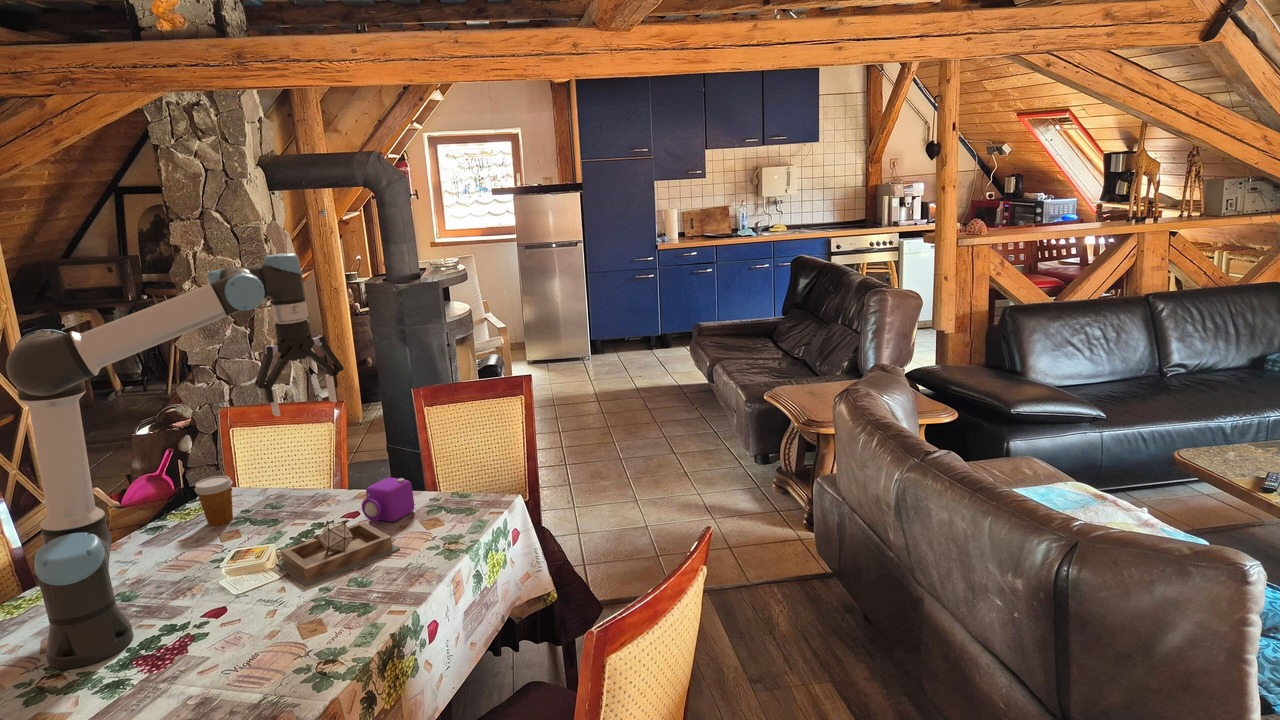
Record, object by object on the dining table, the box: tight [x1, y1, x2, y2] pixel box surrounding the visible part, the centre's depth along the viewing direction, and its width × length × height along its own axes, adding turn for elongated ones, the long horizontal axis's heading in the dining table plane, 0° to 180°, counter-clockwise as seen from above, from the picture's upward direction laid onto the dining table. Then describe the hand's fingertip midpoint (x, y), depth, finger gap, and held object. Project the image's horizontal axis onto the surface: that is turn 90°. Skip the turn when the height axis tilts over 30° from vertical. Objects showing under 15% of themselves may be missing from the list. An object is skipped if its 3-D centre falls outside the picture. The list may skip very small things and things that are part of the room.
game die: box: [314, 520, 357, 555], centre depth 209 cm, size 9×8×10 cm
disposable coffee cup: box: [194, 475, 234, 527], centre depth 235 cm, size 10×10×12 cm
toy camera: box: [361, 477, 415, 523], centre depth 230 cm, size 11×14×10 cm
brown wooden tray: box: [280, 521, 393, 581], centre depth 209 cm, size 22×15×4 cm
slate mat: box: [277, 543, 401, 587], centre depth 209 cm, size 24×18×1 cm
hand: (305, 408), depth 201 cm, fingers open, 13 cm apart
